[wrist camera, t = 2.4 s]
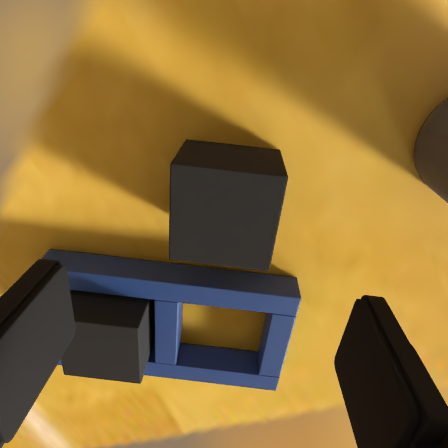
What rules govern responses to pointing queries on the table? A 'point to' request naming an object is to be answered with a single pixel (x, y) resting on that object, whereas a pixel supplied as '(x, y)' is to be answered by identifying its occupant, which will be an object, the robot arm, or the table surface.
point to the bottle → (434, 151)
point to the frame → (201, 295)
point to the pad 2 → (225, 204)
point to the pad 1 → (110, 337)
